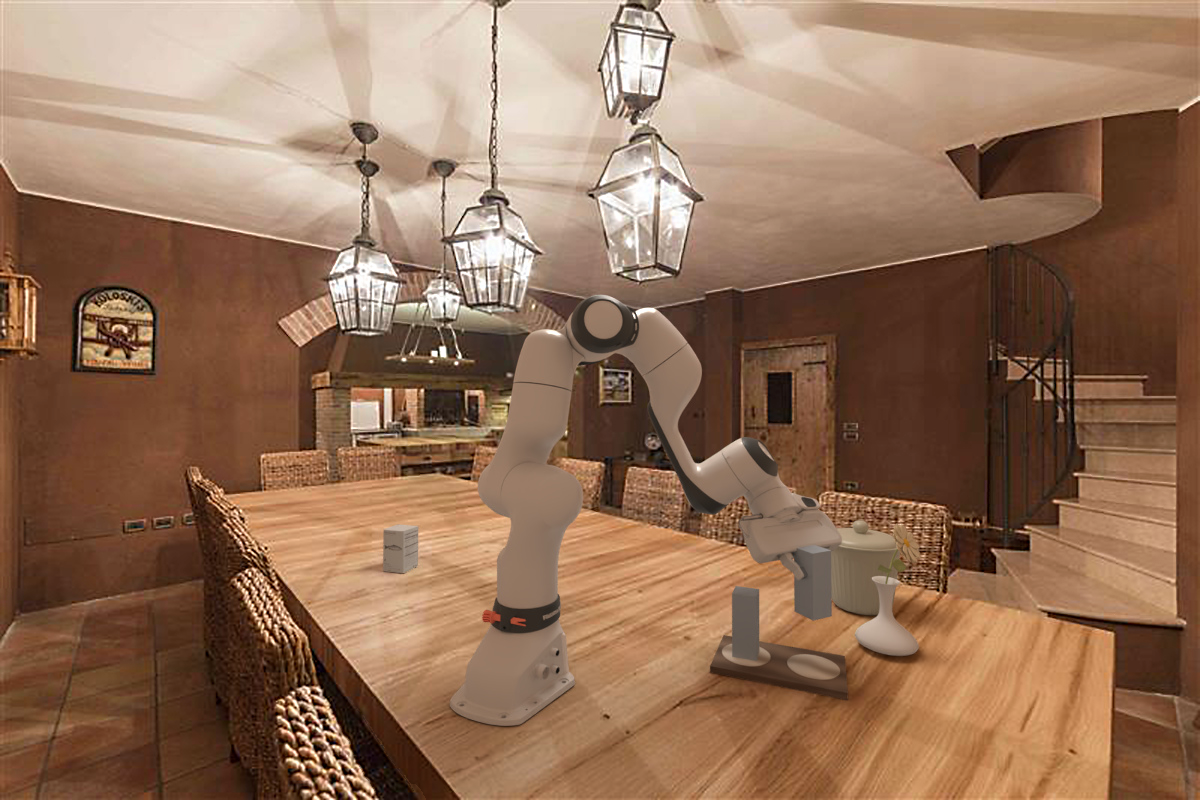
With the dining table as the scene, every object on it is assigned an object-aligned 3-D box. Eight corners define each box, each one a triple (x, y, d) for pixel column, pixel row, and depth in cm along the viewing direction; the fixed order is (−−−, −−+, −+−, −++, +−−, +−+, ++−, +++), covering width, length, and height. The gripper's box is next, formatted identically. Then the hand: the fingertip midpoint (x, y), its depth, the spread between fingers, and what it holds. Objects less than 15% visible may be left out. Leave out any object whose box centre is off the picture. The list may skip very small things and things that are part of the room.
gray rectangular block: (831, 616, 95) (831, 550, 95) (813, 620, 94) (812, 553, 93) (812, 607, 99) (812, 544, 99) (794, 611, 98) (793, 547, 98)
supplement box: (382, 572, 155) (382, 529, 155) (398, 564, 162) (398, 523, 162) (403, 574, 153) (403, 530, 153) (419, 566, 160) (419, 525, 160)
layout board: (847, 700, 88) (847, 691, 88) (710, 672, 97) (710, 664, 97) (844, 662, 100) (844, 654, 100) (723, 640, 110) (723, 634, 110)
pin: (756, 661, 98) (756, 596, 98) (732, 656, 100) (731, 593, 100) (759, 650, 102) (759, 589, 102) (735, 646, 104) (735, 585, 104)
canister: (921, 623, 118) (920, 529, 118) (841, 623, 118) (840, 529, 118) (878, 593, 136) (877, 512, 136) (808, 594, 136) (808, 512, 136)
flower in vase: (885, 665, 99) (884, 533, 99) (842, 639, 110) (841, 520, 110) (939, 656, 103) (939, 528, 103) (893, 632, 114) (892, 516, 114)
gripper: (742, 507, 99) (780, 575, 90) (822, 498, 107) (864, 559, 98) (727, 526, 103) (762, 592, 94) (806, 516, 111) (845, 576, 102)
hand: (815, 575), depth 96 cm, fingers closed on gray rectangular block, 4 cm apart
